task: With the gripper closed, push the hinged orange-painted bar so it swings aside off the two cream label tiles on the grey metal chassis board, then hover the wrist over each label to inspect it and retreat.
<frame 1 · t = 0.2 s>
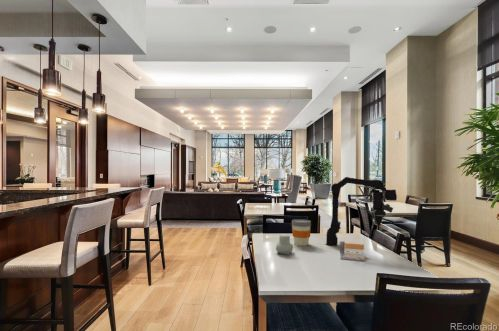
hand: (377, 225, 175), 14 cm above the table, fingers open, 9 cm apart
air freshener: (284, 253, 163), on the table
chassis board: (351, 254, 160), on the table
cable arm: (351, 245, 160), point 5 cm above the table, hinge at 0.0°
reusable coffee cup: (301, 244, 184), on the table
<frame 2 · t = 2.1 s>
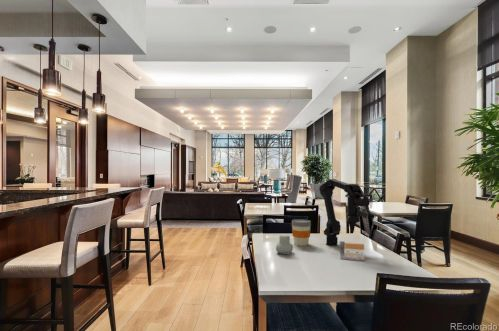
hand: (352, 231, 166), 12 cm above the table, fingers closed
nothing on the table moved.
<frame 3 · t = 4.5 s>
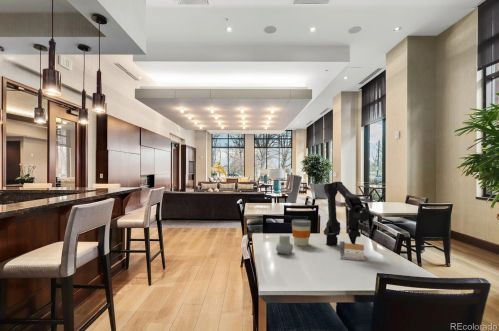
hand: (353, 245, 161), 5 cm above the table, fingers closed
cable arm: (351, 246, 159), point 5 cm above the table, hinge at 8.8°, touching gripper
everything else where it was.
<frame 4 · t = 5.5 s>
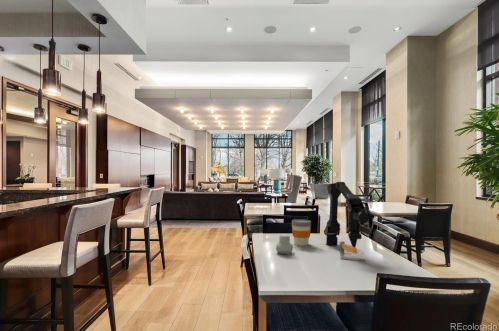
hand: (354, 248, 155), 5 cm above the table, fingers closed
cable arm: (347, 247, 157), point 5 cm above the table, hinge at 56.4°, touching gripper
everything else where it was.
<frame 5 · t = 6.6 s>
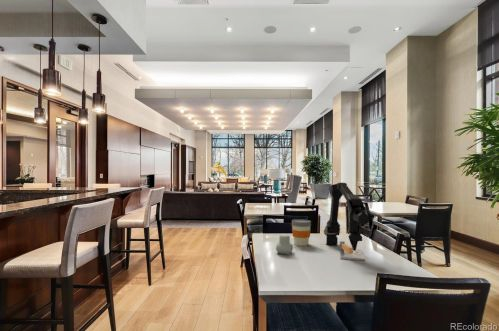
hand: (354, 250, 151), 5 cm above the table, fingers closed
cable arm: (345, 247, 157), point 5 cm above the table, hinge at 68.4°, touching gripper
everything else where it was.
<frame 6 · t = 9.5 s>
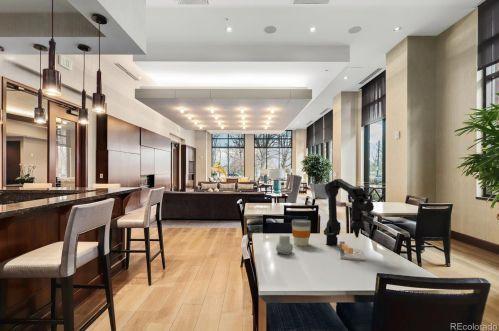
hand: (356, 237, 159), 10 cm above the table, fingers closed
cable arm: (345, 247, 157), point 5 cm above the table, hinge at 68.7°
everything else where it was.
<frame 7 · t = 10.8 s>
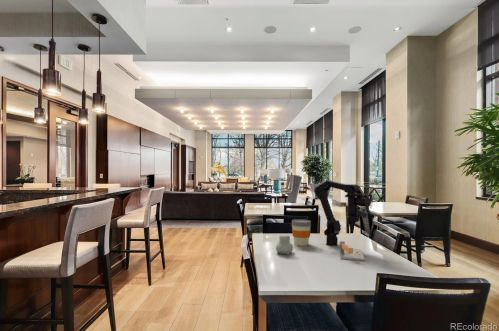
hand: (352, 230, 171), 12 cm above the table, fingers closed
nothing on the table moved.
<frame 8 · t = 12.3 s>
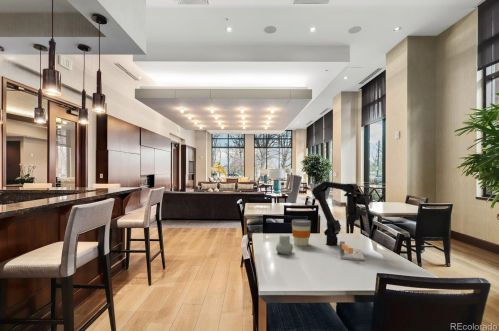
hand: (351, 229, 173), 12 cm above the table, fingers closed
nothing on the table moved.
at the end: cable arm at +69° (first picture: +0°); cable arm touching nothing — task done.
